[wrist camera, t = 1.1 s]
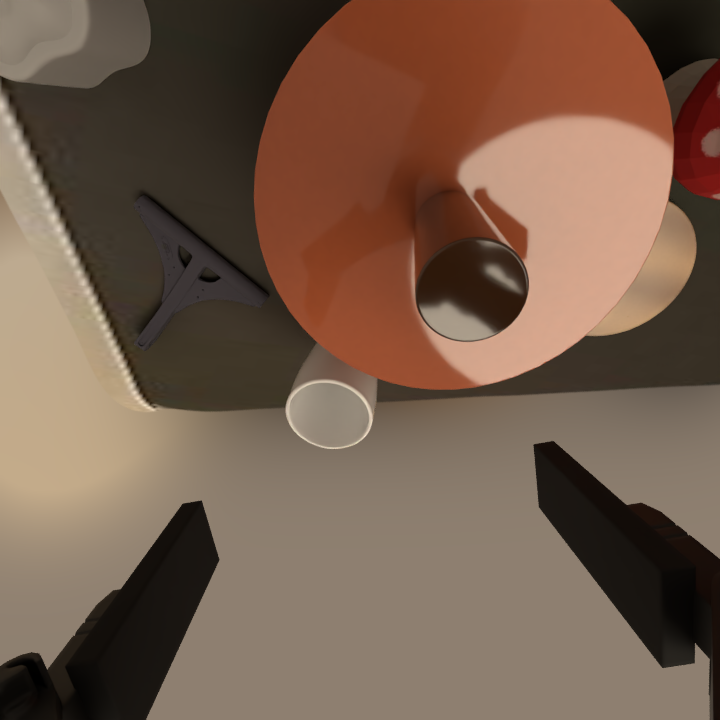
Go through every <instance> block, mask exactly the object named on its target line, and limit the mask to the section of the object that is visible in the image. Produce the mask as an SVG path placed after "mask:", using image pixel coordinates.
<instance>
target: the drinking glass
mask: <svg viewBox="0 0 720 720" xmlns="http://www.w3.org/2000/svg"><path fill="white" fill-rule="evenodd" d="M376 399H377V378H375V377H372V376H370V375H368V374H366V373H364V372H361V371H359V370H357V369H355V368H353V367H351V366H350V365H348V364H346V363H345V362H343V361H341V360H340V359H338V358H337V357H335V356H334V355H332V354H331V353H330V352H329V351H327V350H326V349H325V348H324V347H322V346H321V345H320V344H319V343H317V342H316V344H315V346H314V347H313V349H312V350H311V352H310V353H309V355H308V356H307V358H306V360H305V361H304V363H303V365H302V366H301V368H300V370H299V372H298V374H297V376H296V378H295V381H294V383H293V386H292V388H291V391H290V394H289V397H288V399H287V403H286V416H287V420H288V422H289V424H290V426H291V427H292V429H293V430H294V431H295V433H296V434H297V435H299V436H300V437H301V438H303V439H304V440H305V441H307V442H309V443H311V444H313V445H316V446H318V447H323V448H328V449H341V448H346V447H350V446H352V445H355V444H356V443H358V442H360V441H361V440H362V439H363V438H364V437H365V436H366V435H367V434H368V432H369V430H370V429H371V426H372V421H373V416H374V412H375V406H376Z"/></svg>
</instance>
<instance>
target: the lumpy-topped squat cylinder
mask: <svg viewBox="0 0 720 720" xmlns="http://www.w3.org/2000/svg"><path fill="white" fill-rule="evenodd" d="M150 42H151V28H150V21H149V16H148V12H147V9H146V6H145V3H144V0H0V75H1V76H3V77H5V78H7V79H10V80H12V81H17V82H28V83H35V84H44V85H55V86H65V87H76V88H93V87H95V86H97V85H99V84H100V83H101V82H102V81H104V80H105V79H106V78H107V77H108V76H109V75H111V74H112V73H114V72H115V71H118V70H121V69H124V68H128V67H132V66H135V65H137V64H139V63H140V62H142V61H143V60H144V59H145V57H146V56H147V54H148V51H149V48H150Z"/></svg>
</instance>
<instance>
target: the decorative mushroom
mask: <svg viewBox="0 0 720 720" xmlns="http://www.w3.org/2000/svg"><path fill="white" fill-rule="evenodd" d="M663 83H664V87H665V90H666V94H667V97H668V101H669V104H670V110H671V118H672V126H673V134H674V162H673V175H674V178H675V179H676V180H677V181H678V182H679V183H680V184H682V185H683V186H684V187H685V188H686V189H687V190H688V191H690V192H692V193H694V194H697V195H700V196H704V197H707V198H711V199H715V200H720V58H719V59H714V58H712V59H706V60H700V61H696V62H694V63H692V64H690V65H688V66H685V67H683V68H681V69H679V70H678V71H677V72H675V73H674V74H672V75H671V76H670V77H668V78H667V79H665V80H664V81H663Z"/></svg>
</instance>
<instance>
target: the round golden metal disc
mask: <svg viewBox="0 0 720 720" xmlns="http://www.w3.org/2000/svg"><path fill="white" fill-rule="evenodd" d="M696 246H697V245H696V236H695V232H694V229H693V226H692V224H691V222H690V220H689V218H688V217H687V216H686V214H685V213H684V212H683V211H682V210H681V209H680V208H679V207H678V206H676V205H675V204H673V203H672V202H670V201H668V204H667V207H666V211H665V214H664V217H663V221H662V224H661V228H660V231H659V233H658V235H657V237H656V240H655V242H654V244H653V247H652V249H651V251H650V254H649V256H648V258H647V260H646V261H645V263H644V265H643V267H642V268H641V270H640V272H639V273H638V275H637V277H636V279H635V280H634V282H633V283H632V285H631V286H630V287H629V289H628V290H627V291H626V293H625V294H624V295H623V297H622V298H621V300H620V301H619V302H618V304H617V305H616V306H615V307H614V308H613V309H612V310H611V311H610V312H609V313H608V314H607V316H606V317H605V318H604V319H603V320H602V321H601V322H600V323H599V324H598V325H597V326H596V327H595V328H593V329H592V330H591V331H590V332H589V333H588V334H587V336H604V335H612V334H616V333H621V332H624V331H627V330H630V329H632V328H634V327H637V326H639V325H641V324H643V323H645V322H646V321H648V320H650V319H651V318H653V317H654V316H656V315H657V314H659V313H660V312H661V311H662V310H663V309H665V308H666V307H667V306H668V305H669V304H670V303H671V302H672V301H673V300H674V299H675V298H676V296H677V295H678V294H679V293H680V291H681V290H682V288H683V287H684V285H685V284H686V282H687V280H688V278H689V276H690V274H691V271H692V269H693V266H694V262H695V257H696Z"/></svg>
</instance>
